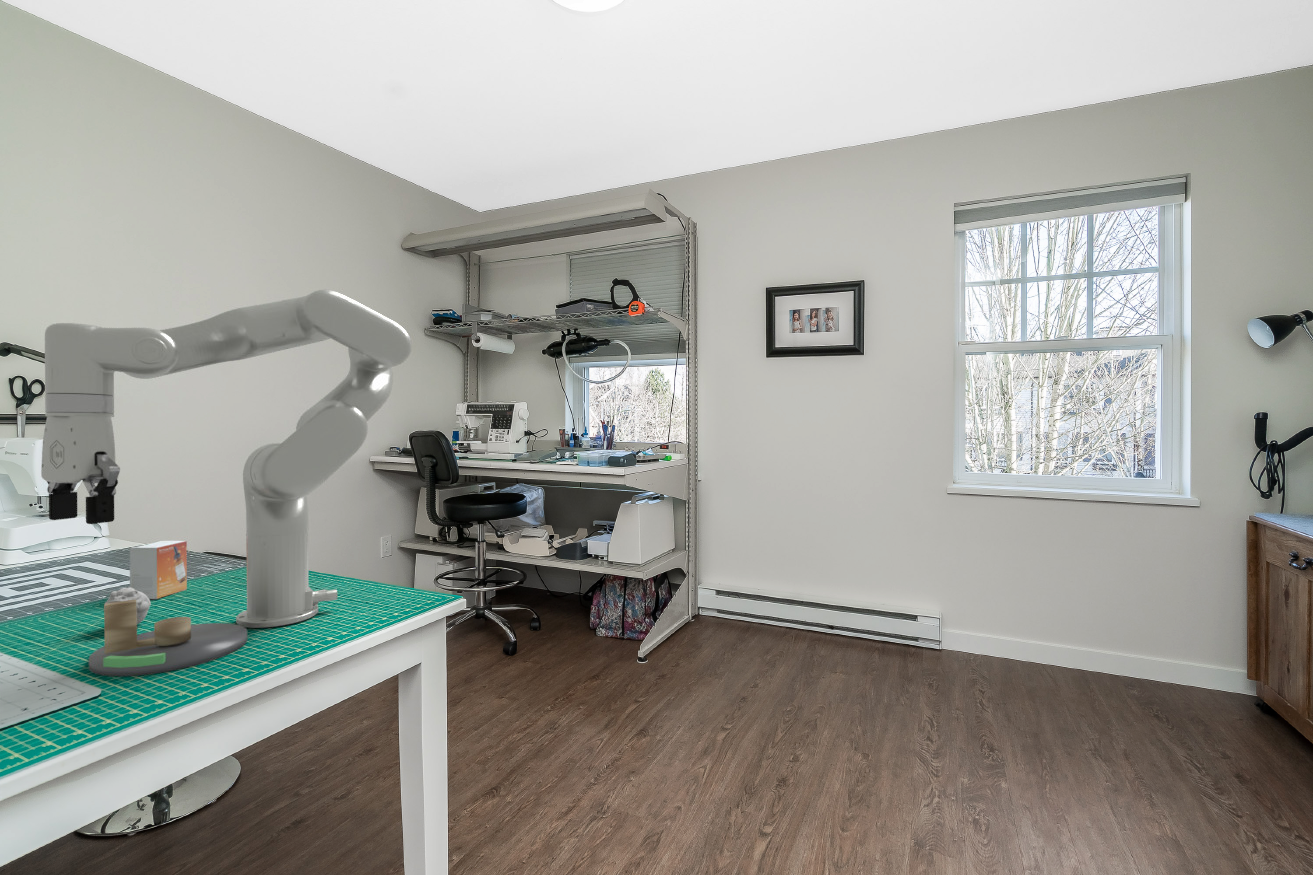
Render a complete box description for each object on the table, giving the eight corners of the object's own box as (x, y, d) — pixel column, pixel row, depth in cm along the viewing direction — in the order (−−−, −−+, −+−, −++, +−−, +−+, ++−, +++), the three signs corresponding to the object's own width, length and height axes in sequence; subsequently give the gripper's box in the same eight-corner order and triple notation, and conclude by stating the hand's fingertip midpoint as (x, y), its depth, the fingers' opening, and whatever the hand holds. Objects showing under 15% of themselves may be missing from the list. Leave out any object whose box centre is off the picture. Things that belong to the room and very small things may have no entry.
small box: (156, 600, 121) (156, 547, 120) (128, 599, 121) (128, 547, 120) (188, 589, 129) (187, 540, 128) (162, 589, 129) (161, 540, 129)
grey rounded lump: (93, 635, 100) (93, 593, 100) (118, 622, 107) (118, 583, 107) (137, 632, 102) (137, 591, 102) (159, 619, 108) (159, 580, 108)
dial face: (241, 622, 107) (241, 609, 107) (253, 654, 92) (253, 638, 92) (95, 647, 95) (94, 632, 95) (81, 688, 80) (81, 670, 80)
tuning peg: (190, 633, 96) (190, 590, 96) (191, 641, 93) (190, 596, 93) (106, 647, 90) (105, 601, 90) (103, 656, 87) (103, 608, 87)
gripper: (16, 406, 91) (17, 520, 91) (82, 405, 84) (83, 528, 85) (78, 408, 98) (79, 514, 98) (144, 407, 91) (145, 520, 92)
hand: (81, 520), depth 91 cm, fingers open, 9 cm apart
